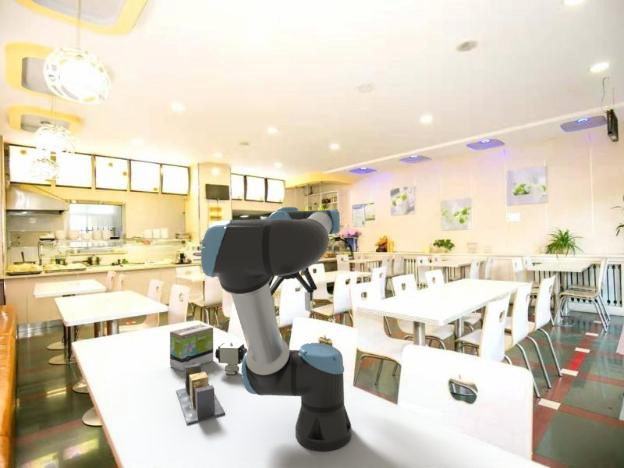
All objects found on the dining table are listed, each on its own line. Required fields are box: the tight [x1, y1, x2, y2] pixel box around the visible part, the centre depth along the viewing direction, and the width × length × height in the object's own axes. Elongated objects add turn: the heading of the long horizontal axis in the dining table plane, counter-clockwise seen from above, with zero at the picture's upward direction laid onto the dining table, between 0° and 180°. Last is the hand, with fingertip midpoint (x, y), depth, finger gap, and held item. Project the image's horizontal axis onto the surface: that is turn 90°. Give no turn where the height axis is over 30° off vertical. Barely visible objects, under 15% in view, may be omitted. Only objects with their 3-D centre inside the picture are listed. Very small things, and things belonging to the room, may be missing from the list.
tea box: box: [169, 323, 214, 372], centre depth 147 cm, size 15×10×15 cm, turn 143°
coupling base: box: [175, 363, 226, 426], centre depth 112 cm, size 24×11×9 cm, turn 28°
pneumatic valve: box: [214, 342, 248, 376], centre depth 136 cm, size 6×12×12 cm, turn 78°
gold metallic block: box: [189, 371, 209, 405], centre depth 112 cm, size 8×5×8 cm, turn 29°
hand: (290, 313), depth 119 cm, fingers open, 13 cm apart
